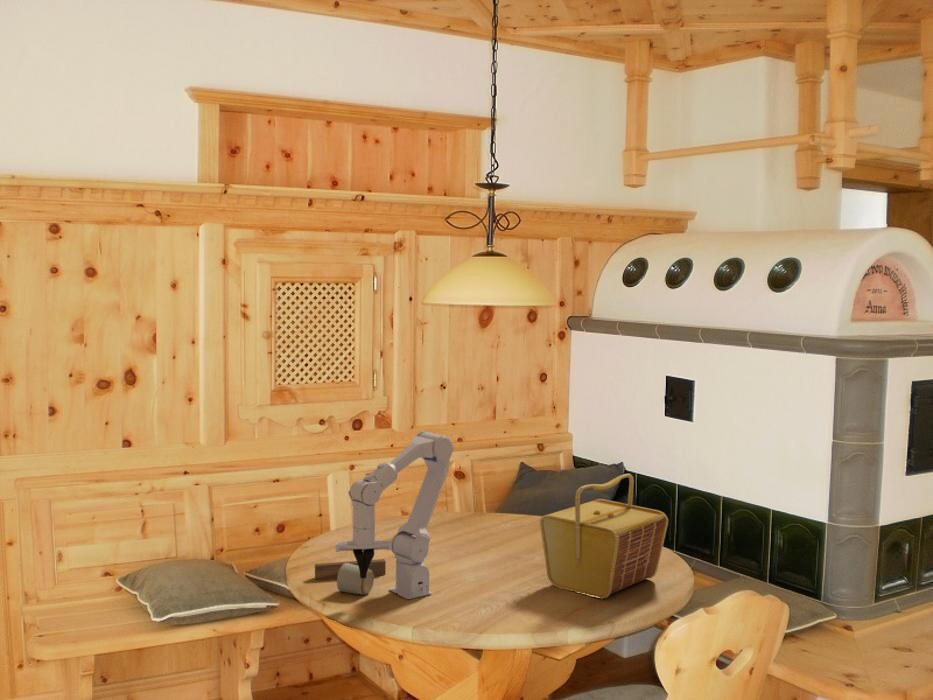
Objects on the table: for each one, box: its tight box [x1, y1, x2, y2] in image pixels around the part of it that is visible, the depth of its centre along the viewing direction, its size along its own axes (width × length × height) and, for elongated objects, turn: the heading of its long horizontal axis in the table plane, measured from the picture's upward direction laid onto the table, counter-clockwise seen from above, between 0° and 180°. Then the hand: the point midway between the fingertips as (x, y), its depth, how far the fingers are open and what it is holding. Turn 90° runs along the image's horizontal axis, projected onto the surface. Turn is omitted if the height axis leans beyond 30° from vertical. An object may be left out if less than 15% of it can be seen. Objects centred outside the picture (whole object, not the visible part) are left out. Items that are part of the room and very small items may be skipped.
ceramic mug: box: [336, 563, 375, 596], centre depth 274 cm, size 11×8×8 cm
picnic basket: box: [539, 473, 669, 599], centre depth 284 cm, size 29×26×30 cm
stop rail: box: [314, 558, 387, 581], centre depth 286 cm, size 2×20×4 cm, turn 107°
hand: (363, 577), depth 263 cm, fingers closed
